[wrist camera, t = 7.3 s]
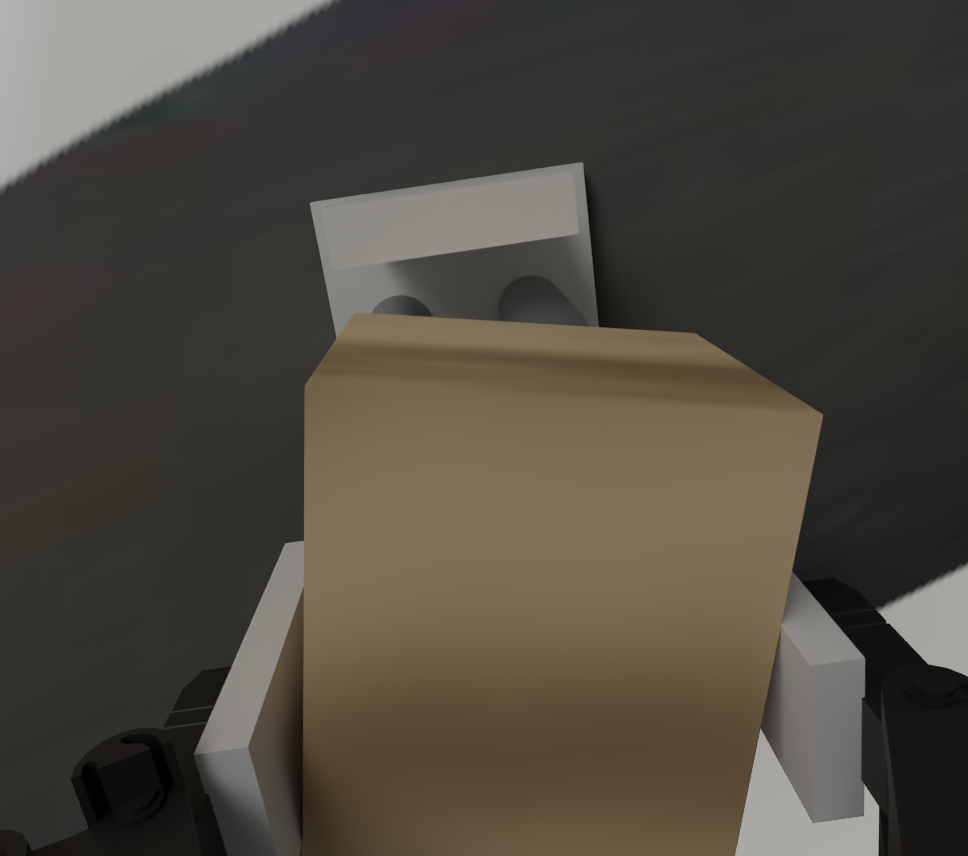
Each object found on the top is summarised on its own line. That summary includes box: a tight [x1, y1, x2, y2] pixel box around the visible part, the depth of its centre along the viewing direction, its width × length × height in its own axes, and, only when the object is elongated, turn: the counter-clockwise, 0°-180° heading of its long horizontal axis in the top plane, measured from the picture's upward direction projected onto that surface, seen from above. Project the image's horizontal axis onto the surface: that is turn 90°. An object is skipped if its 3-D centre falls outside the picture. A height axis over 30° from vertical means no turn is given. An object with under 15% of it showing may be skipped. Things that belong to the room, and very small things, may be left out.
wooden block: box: [303, 312, 823, 856], centre depth 15 cm, size 11×7×6 cm, turn 176°
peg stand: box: [310, 163, 599, 337], centre depth 23 cm, size 8×16×9 cm, turn 8°
